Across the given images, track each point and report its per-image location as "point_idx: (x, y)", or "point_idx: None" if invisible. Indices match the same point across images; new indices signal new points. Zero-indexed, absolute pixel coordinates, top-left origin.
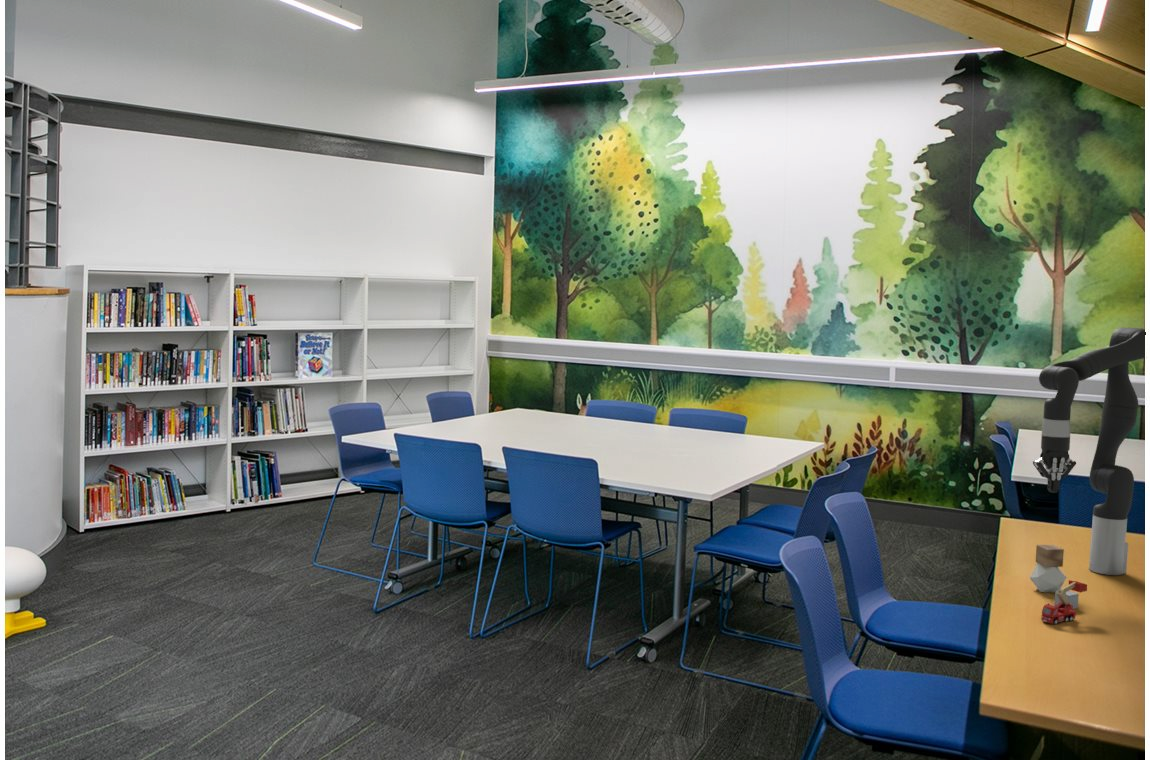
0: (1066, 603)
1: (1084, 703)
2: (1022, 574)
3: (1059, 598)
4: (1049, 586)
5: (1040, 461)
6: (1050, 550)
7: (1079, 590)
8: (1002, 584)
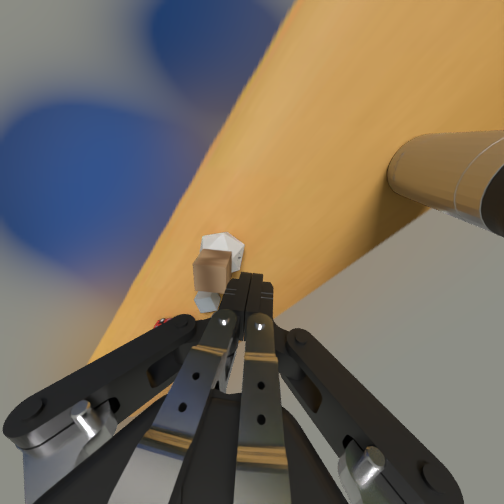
0: None
1: None
2: (240, 163)
3: None
4: None
5: (58, 466)
6: (201, 290)
7: None
8: (176, 210)
